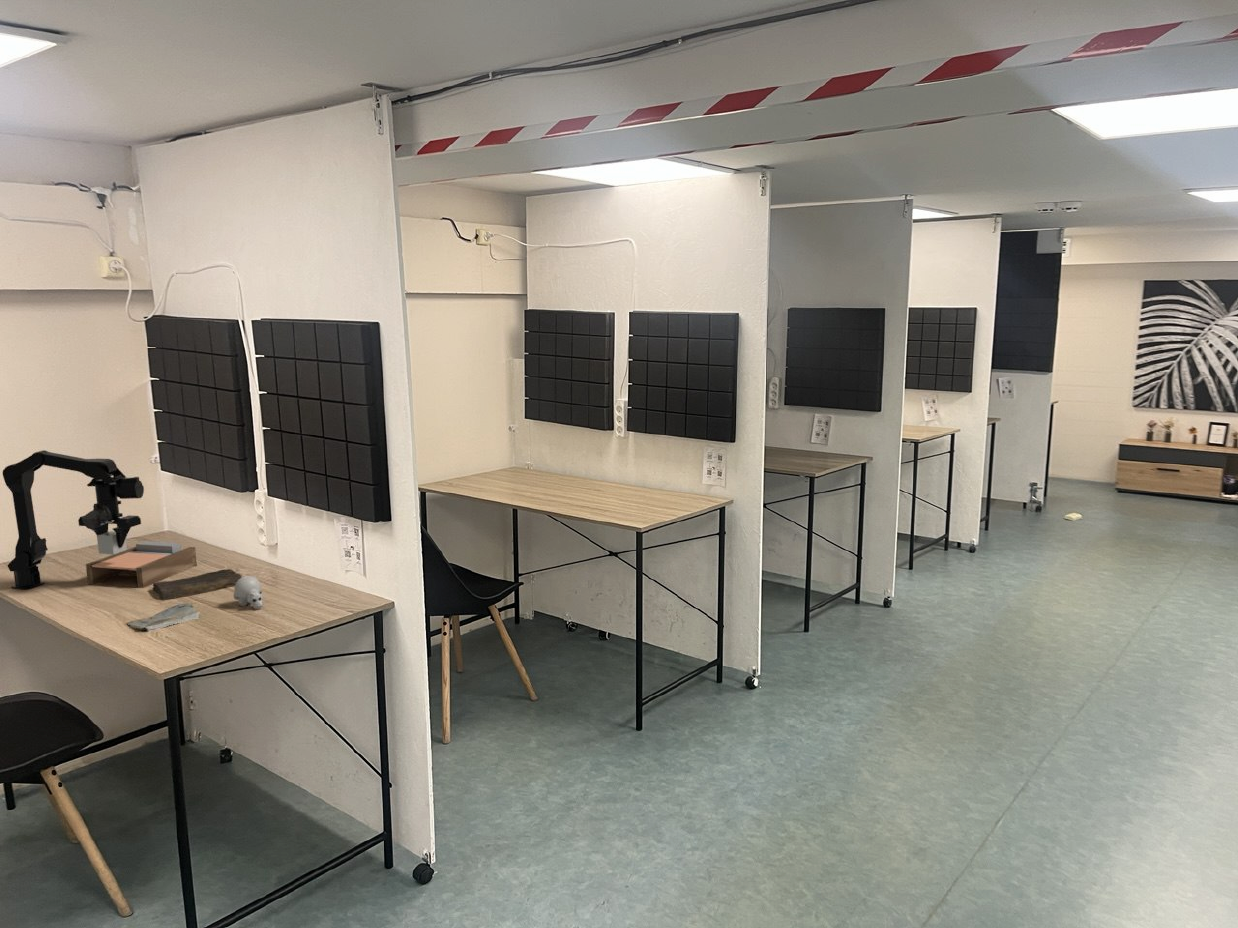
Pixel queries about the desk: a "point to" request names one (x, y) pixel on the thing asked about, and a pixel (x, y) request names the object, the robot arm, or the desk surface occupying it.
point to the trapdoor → (140, 555)
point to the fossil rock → (167, 617)
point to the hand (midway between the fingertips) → (112, 546)
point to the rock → (196, 584)
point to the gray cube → (109, 543)
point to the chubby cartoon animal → (248, 592)
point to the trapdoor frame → (146, 567)
